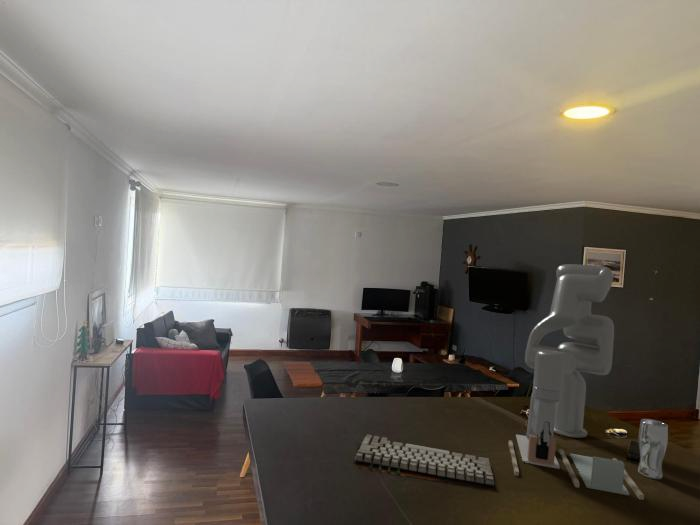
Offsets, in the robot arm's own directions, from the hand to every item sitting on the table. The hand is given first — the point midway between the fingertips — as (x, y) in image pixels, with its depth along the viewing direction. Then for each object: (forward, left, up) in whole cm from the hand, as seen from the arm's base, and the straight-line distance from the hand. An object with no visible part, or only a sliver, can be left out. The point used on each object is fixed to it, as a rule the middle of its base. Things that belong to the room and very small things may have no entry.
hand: (540, 456), depth 135 cm
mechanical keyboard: (+15, -32, -3) cm, 36 cm away
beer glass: (-7, +31, -2) cm, 31 cm away
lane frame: (0, +8, -2) cm, 8 cm away
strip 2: (0, +15, -2) cm, 15 cm away
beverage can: (-15, 0, -1) cm, 15 cm away
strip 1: (-10, 0, -2) cm, 10 cm away
